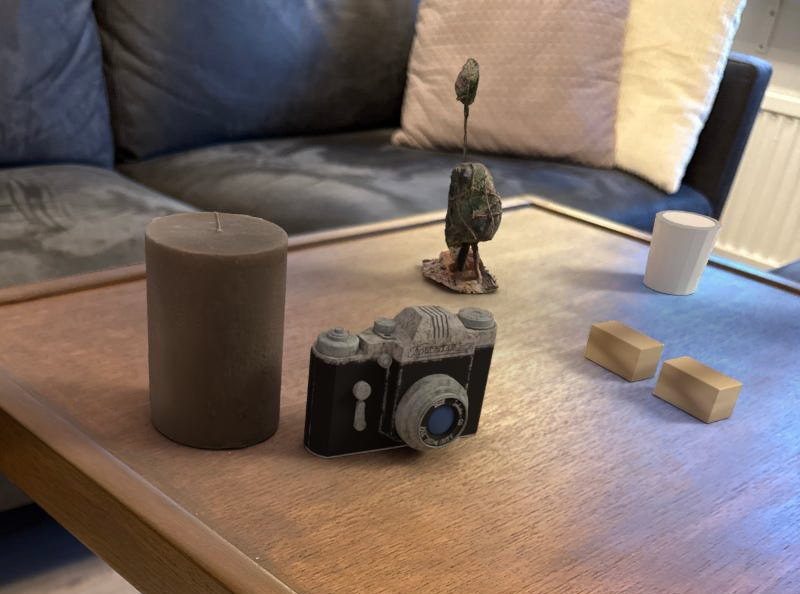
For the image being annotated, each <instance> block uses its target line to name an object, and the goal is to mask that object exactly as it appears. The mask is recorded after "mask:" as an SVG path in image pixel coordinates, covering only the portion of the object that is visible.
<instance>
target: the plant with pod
mask: <svg viewBox="0 0 800 594" xmlns="http://www.w3.org/2000/svg"><path fill="white" fill-rule="evenodd" d="M479 81H480V65H479V63H478V62H477V60H475V58H472V57H469V58H468V59H467V60H466V62H465V64H464V65H462V67H461V70H460V71H459V73H458V75H457V76H456V79H455V82H454V92H455V95H456V98H455V100H456V102H460V103H461V104H462V105H463V118H464V119H463V120H464V121H463V133H464V135H463V148H462V151H463V156H462V163H461V164H460V165H458V166H455V167H453V169H452V170H451V173H450V174H451V175H450V176H449V179H450V183H449V188H448V189H449V190H448V191H447V192H448V194H447V209H446V214H445V217H444V222H445V225H444V227H445V228H444V229H443V230H444V237H445V238H444V243H445V244H446V247H447V249H448V250H443V251H442V250H441V251H440V253H439V256H438V258H435V257H434V258H431V259H428V258H427V259H422V262H421V263H422V267H423V268H422V271H421V273H423V274H422V276H424V277H425V278H429V279H431V280H434V282H437V283H440V284H442V285H444V286H445V287H447V288H449V289H451V290H452V291H455V292H458V293H461V294H468V295H470V294H471V293H473V294H474V295H476V294H480V293H481V294H489V293H490V292H494V291H496V290H498V289H499V288H500V286H499V283H498V282H497V280H498V279H497V278H496V275H495V274H494V275H493V274H492V273H490V270H489V269H486V266H485V265H484V262H483V260H482V258H481V255H480V253H479V250H480V249H479V245H478V244H479V243H485V242H488V241H489V242H490V241H493V239H494V238H495V235H496V234H497V232H498V230H499V228H500V225H501V222H502V218H503V211H504V210H503V203H502V200H501V194H500V193H499V191H498V190H497V188H496V184H495V182H494V178H493V176H492V174H491V173H490V171H489V169H488V168H487V167H486V166H485V165H484V164H483V163H481V162H474V161H467V146H468V145H467V144H468V143H467V141H468V131H467V127H468V119H469V117H470V107H469V106H471V105H472V104H473V103H474V102H475V99H476V97H477V90H478V88H479ZM466 161H467V162H466Z"/></svg>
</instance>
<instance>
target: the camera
mask: <svg viewBox="0 0 800 594" xmlns="http://www.w3.org/2000/svg"><path fill="white" fill-rule="evenodd" d="M498 329H499V326H498V323H497V322H496V321H495V314H494V313H492V312H491V311H489V310H487V309H484V308H481V307H474V306H471V307H470V306H469V307H462V308H460V309H459V310H458V312H457V313H454V312H452V311H450V310H449V309H446V308H444V307H443V306H440V305H439V304H432V305H431V304H429V305H417V306H406V307H405V308H403V309H402V310H400V312H398V313H397V314H395V316H394V317H393V318H388V317H377V318H376V319H375V320H374V322H373V324H372V325H370V326H368V327H367V328H366V329H364V330H362V331H361V332H358V333H355V334H354V333H353V332H350V331H349V330H346V329H345V328H344V327H342V326H335V327H334V328H330V329H327V330H323V331H321V332H319V333H318V334H317V338H316V340H314V341H313V342H312V345H311V347H310V351H309V365H308V376H307V389H306V403H305V404H306V405H305V414H304V429H303V438H302V439H303V440H302V444H303V446H304V447H305V449H306V450H307V451H308V452H309V453H310V454H312V455H315V456H317V457H319V458H323V459H334V458H340V457H346V456H352V455H360V454H365V453H370V452H371V453H372V452H380V451H385V450H390V449H397V448H404V447H409V448H411V449H414V450H417V451H422V452H423V451H424V452H425V451H432V450H436V449H441V448H444V447H447V446H449V445H450V444H452V443H453V442H455V441H456V440H457V439H461V438H466V437H472V436H476V435H477V433H478V430H479V424H480V420H481V415H482V410H483V405H484V400H485V394H486V390H487V385H488V380H489V375H490V370H491V364H492V360H493V356H494V349H495V345H496V340H497V335H498Z"/></svg>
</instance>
